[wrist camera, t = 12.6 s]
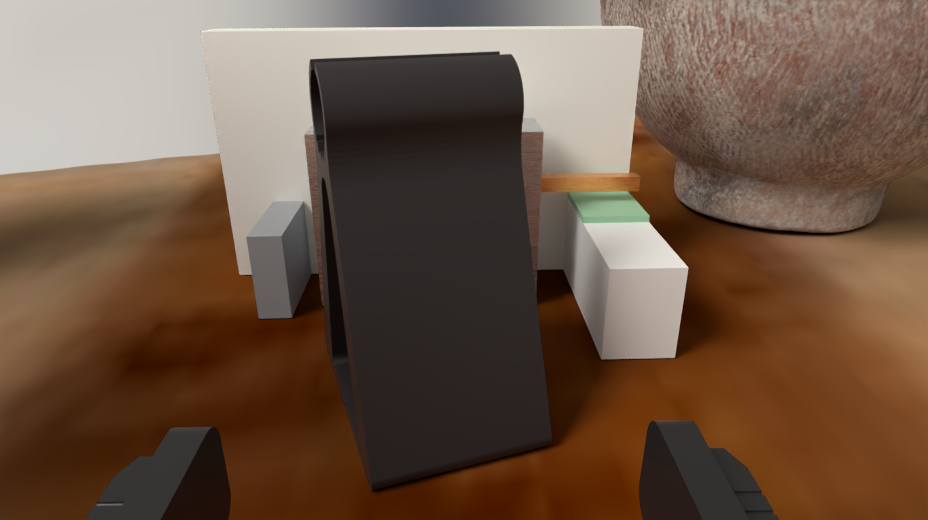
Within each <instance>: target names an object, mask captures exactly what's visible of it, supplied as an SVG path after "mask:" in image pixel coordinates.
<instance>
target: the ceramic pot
mask: <svg viewBox="0 0 928 520" xmlns="http://www.w3.org/2000/svg"><path fill="white" fill-rule="evenodd" d="M600 4H601V19H602V26H635V27H639V28H644V30H643V40H642V50H641V60H640V69H639V79H638V89H637V99H636V108H635V113H636V114H637V116H638V117H639V119H640V120H641V122H642V124H643V126H644V127H645V128H646V129H647V130H648V131H649V132H650V133H651V134H652V136H653V137H654V138H655V139H656V140H657V141H658V142H659V143H661V144H662V145H663V146H664V147H665V148H666V149H668V150H669V151H670V152H671V153H672V154H674V156H675V160H676V169H675V175H674V189H675V193H676V196H677V198H678V199H679V200H680V201H681V202H682V203H684V204H685V205H686V206H687V207H689V208H691V209H692V210H694V211H696V212H698V213H701V214H704V215H707V216H710V217H713V218H716V219H719V220H723V221H726V222H730V223H735V224H742V225H746V226H751V227H758V228H764V229H772V230H789V231H802V232H813V233H831V232H842V231H848V230H853V229H855V228H860V227H861V226H864V225H866V226H867V224H868V223H871V222H872V221H873V220H874V218H875V217H876V216H877V214H878V212H879V210H880V208H881V205H882V202H883V198H884V194H885V192H886V190H887V188H888V185H889V183H890V182H891V181H892V180H894V179H897V178H899V177H902V176H904V175H906V174H909V173H911V172H912V171H914V170H917V169H919V168H921V167H923V166H925V165H926V164H928V0H600Z"/></svg>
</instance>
